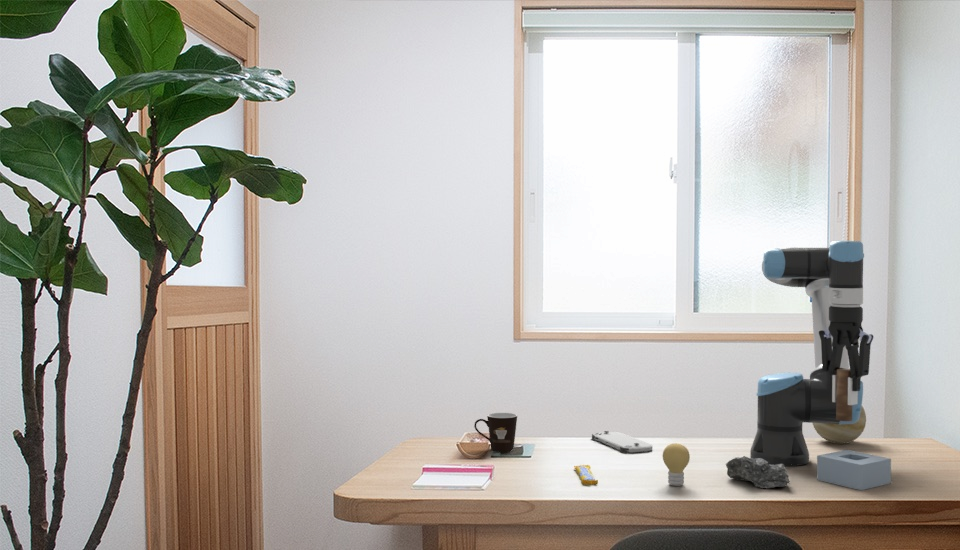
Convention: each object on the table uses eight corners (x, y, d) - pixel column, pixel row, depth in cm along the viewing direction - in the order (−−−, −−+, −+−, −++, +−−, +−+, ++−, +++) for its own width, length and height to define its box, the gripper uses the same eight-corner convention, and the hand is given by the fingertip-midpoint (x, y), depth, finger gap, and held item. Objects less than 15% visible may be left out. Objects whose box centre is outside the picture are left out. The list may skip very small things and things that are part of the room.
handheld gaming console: (656, 443, 252) (625, 445, 248) (656, 453, 252) (625, 455, 248) (618, 428, 273) (589, 430, 270) (618, 437, 274) (589, 439, 270)
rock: (723, 473, 223) (724, 442, 218) (773, 464, 224) (775, 434, 218) (743, 510, 212) (744, 479, 207) (795, 501, 213) (798, 470, 207)
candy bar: (599, 487, 214) (599, 479, 214) (581, 487, 214) (581, 480, 214) (590, 470, 231) (590, 463, 231) (574, 470, 231) (574, 463, 231)
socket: (861, 490, 209) (861, 464, 209) (817, 479, 219) (817, 455, 219) (890, 483, 216) (890, 458, 216) (846, 473, 226) (846, 449, 226)
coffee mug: (522, 449, 255) (522, 414, 255) (507, 454, 248) (507, 419, 248) (488, 444, 261) (488, 410, 261) (472, 449, 254) (472, 415, 254)
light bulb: (684, 489, 210) (684, 447, 210) (658, 486, 214) (658, 444, 213) (693, 483, 216) (693, 442, 215) (667, 480, 219) (668, 440, 219)
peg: (835, 420, 212) (836, 370, 212) (836, 417, 215) (837, 368, 215) (851, 421, 211) (852, 371, 210) (852, 418, 214) (853, 369, 213)
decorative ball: (806, 437, 271) (806, 388, 271) (857, 438, 269) (858, 389, 269) (818, 447, 256) (818, 396, 256) (872, 449, 254) (873, 397, 254)
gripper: (806, 304, 217) (805, 399, 218) (867, 308, 203) (866, 410, 204) (825, 302, 221) (825, 396, 222) (887, 306, 207) (886, 406, 208)
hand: (844, 402), depth 213 cm, fingers closed on peg, 3 cm apart
